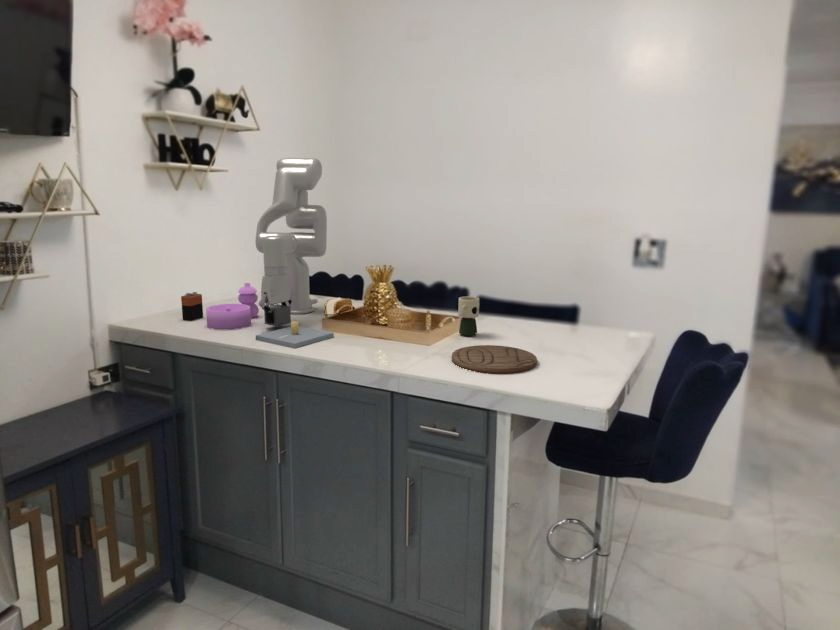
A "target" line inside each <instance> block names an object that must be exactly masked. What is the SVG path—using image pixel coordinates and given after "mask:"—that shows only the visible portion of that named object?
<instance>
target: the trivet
mask: <svg viewBox="0 0 840 630" xmlns="http://www.w3.org/2000/svg"><path fill="white" fill-rule="evenodd" d="M451 363H454V364H455V365H454V364H453V365H454V366H456V365H457V367H458V366H459V367H458V368H460V367H461V368H460V369H463V368H464V369H463V370H465V369H467V370H466V371H469V370H471V371H470V372H474V371H475V372H474V373H479V372H480V373H481V374H487V373H488V375H489V374H490V375H513V374H521V373H524V372H528V371H531V370H533V369H535V368H536V366H537V365H538V358H537V356H536V355H535V354H533V352H531V351H528V350H525V349H522V348H517V347H511V346H505V345H496V344H495V345H494V344H492V345H491V344H487V345H486V344H485V345H484V344H481V345H472V346H471V345H470V346H464V347H461V348H458V349H455V350H454V351H453V352H452V353H451Z"/></svg>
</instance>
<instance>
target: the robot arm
mask: <svg viewBox="0 0 840 630" xmlns="http://www.w3.org/2000/svg"><path fill="white" fill-rule="evenodd" d="M276 170H277V171H275V172H276V173H275V178H274V186H273V187H274V188H273V195H272V196H273V197H272V204H271V205H270V206H269V207H268V208H267V209H266V210H265V211H264V212H263V214H262V215H261V217H260V218H259V220H258V221H257V225H256V233H255V247H256V250H257V251H258V253H261V254H262V255H263V267H264V268H263V269H264V272H263V274H264V275H262V279H261V285H260V286H261V288H260V293H261V295H260V298H261V299H260V300H259V302H258V306H260V307H261V309H262V310H263V311H265V312H266V322H267V323H271V324H273V323H274V315H273V312H272V310H273V306H274V305H276V304H279V305H284V306H289V307H290V312H291V315H300V314H301V315H302V314H308V313H313V312H314V311H315V308H314V307H313V306H312V305H315V304H318V302H319V300H318V299H317V298H313V299H312V298H310V297H311V296H310V268H309V267H310V266H309V265H308V263H307V262H306V260H305V259H304V258H309V257H310V258H319V257H320V258H322V257H323V256H324V255H326V252H327V237H328V236H327V235H328V233H327V228H328V227H327V226H328V224H327V222H328V221H327V220H328V219H327V212H326V210H325V208H324V207H323V206H322V205H320V204H318V205H317V204H309V193H308V191H312V190H314V189H315V187H317V185H318V182H319V181H320V179H321V177H322V174H323V165H322V162H321V161H320V160H319V158H316V157H315V158H314V157H284V158H280V159H279V160H277V163H276ZM283 217H285V223H286V225H287V227H288V228H290V229H294V230H313V231H314V232H302V231H301V232H300V231H297V232H296V231H295V232H275V231H273V232H272V231H269V232H268V231H267V230H268V228H269V227H270V226H271V224H272V223H274V222H275V221H277V220H279V219H281V218H283ZM269 306H270V307H269Z"/></svg>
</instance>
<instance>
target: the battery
mask: <svg viewBox="0 0 840 630" xmlns="http://www.w3.org/2000/svg"><path fill="white" fill-rule="evenodd" d="M180 299H181V300H180V301H181V302H180V303H181V313H182V314H181V316H182V320H183V321H190V322H192V321H195V320H199V319H202V318H204V309H203V295H202V294H201V293H198V292H197V291H193V292H192V293H191V292H186V293H185V294H184V295H182V296H180Z"/></svg>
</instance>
